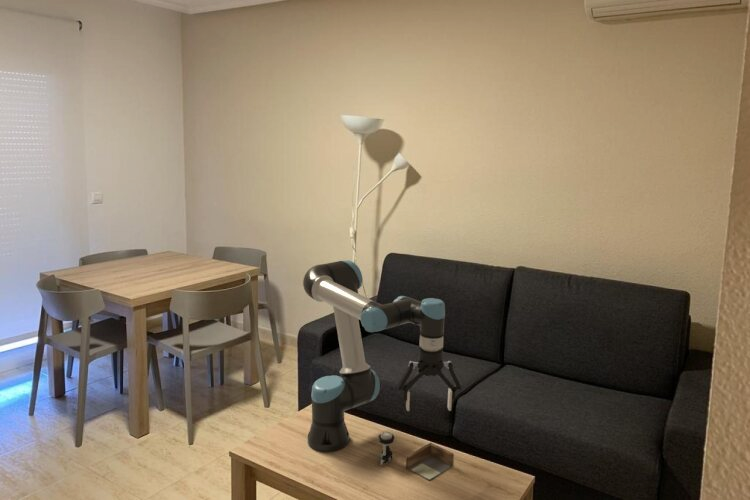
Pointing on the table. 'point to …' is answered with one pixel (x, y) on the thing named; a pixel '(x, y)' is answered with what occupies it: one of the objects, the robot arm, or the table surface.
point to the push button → (386, 446)
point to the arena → (429, 461)
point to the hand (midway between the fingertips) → (428, 408)
